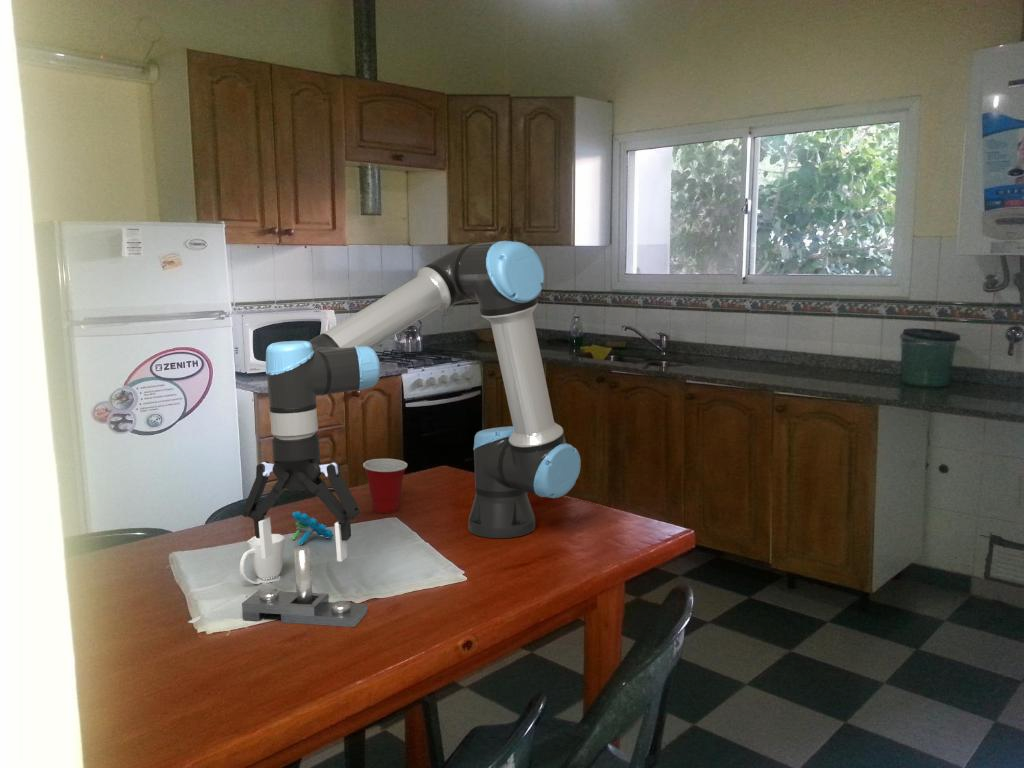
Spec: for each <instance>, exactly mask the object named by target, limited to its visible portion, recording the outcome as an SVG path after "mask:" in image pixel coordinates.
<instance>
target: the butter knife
mask: <svg viewBox="0 0 1024 768" xmlns="http://www.w3.org/2000/svg"><path fill="white" fill-rule="evenodd" d="M238 595H239V596H238ZM238 595H236V597H235V596H234V598H233V597H231V598H229V599H228V600H225V601H226V602H225V601H224V603H223V602H221V603H222V604H221V603H220V605H219V604H218V606H217V605H215V606H214V607H215V608H214V607H213V609H212V608H211V609H212V610H211V609H210V610H211V611H215V610H218V611H220V610H219V609H221V610H223V609H225V608H224V607H226V608H228V607H229V606H228V605H230V604H231V603H234V604H236V603H237V602H236V601H238V600H239V599H242V597H244V596H245V595H247V594H245V593H243V594H238ZM242 600H243V599H242ZM235 602H236V603H235ZM238 602H239V601H238ZM227 606H228V607H227ZM230 606H231V605H230ZM222 608H223V609H222ZM208 611H209V610H208ZM209 612H210V611H209ZM209 612H208V613H209ZM201 615H202V614H200V615H198V616H196V617H194V618H192V619H190V620H189V621H187V623H190V624H193V623H196V622H197V621H199V620H201V619H200V617H201ZM204 615H206V614H204Z"/></svg>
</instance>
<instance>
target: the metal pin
mask: <svg viewBox="0 0 1024 768" xmlns="http://www.w3.org/2000/svg"><path fill="white" fill-rule="evenodd" d="M293 553H294V554H293V556H294V572H295V575H294V576H295V588H296V590H295V592H297V604H309V605H311V604H312V603H313V596H312V593H313V583H312V582H313V581H312V564H311V563H312V562H311V547H310V546H308V545H307V546H306V545H305V546H302V545H300V546H297V547H295V548H293Z"/></svg>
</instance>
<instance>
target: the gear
mask: <svg viewBox="0 0 1024 768" xmlns="http://www.w3.org/2000/svg"><path fill="white" fill-rule="evenodd" d="M291 516H292V517H293V519H294V521H296V522H295V524H294V525H295V526H296V528H295V530H296V532H295V533H294V535H293V536H292V537H291V540H292V539H294V538H296V539H297V537H298V536H299V534H300V533H303V535H302V537H301V539H300V540H299V542H298V543H299V544H298V545H300V544H302V543H304V544H305V543H306V541H307V539H309V536H310V535H312V534H313V533H315V534H316V535H317V536H319V535H323V538H325V537H329V539H330V540H331V539H333V537H335V536H334V533H333V531H332V530H331V529H329V528H327V525H325V524H324V523H321V524H320V523H319V522H318V520H317V519H316V518H314V517H310V516H309V515H308V514H307V513H304V512H303V513H302V512H301V511H299V510H297V511H293V512H292V514H291Z"/></svg>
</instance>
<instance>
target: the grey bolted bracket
mask: <svg viewBox="0 0 1024 768" xmlns="http://www.w3.org/2000/svg"><path fill="white" fill-rule="evenodd" d="M312 596H313V603H312V604H311V605H309V604H297V592H296V591H282V590H279V589H277V588H266V589H258V590H256V592H254V593H253V594H252V595H251V596H249V597H248V598H246V599H245V600H244V601H243V602H241V609H242V610H241V611H242V621H249V622H260V621H261V620H263V619H264V618H265V617H266V616H267V615H268V614H274V615H280V622H281V623H283V624H297V625H299V624H301V625H312V626H313V625H315V626H331V627H346V628H347V627H348V628H349V627H350V628H355V627H357V625H358V624H359V623H360V622H361V620H363V618H364V617H365V616H366V615H367V614H368V604H367V603H352V602H351V601H348V600H338V601H329V593H324V592H323V593H322V592H312Z"/></svg>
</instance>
